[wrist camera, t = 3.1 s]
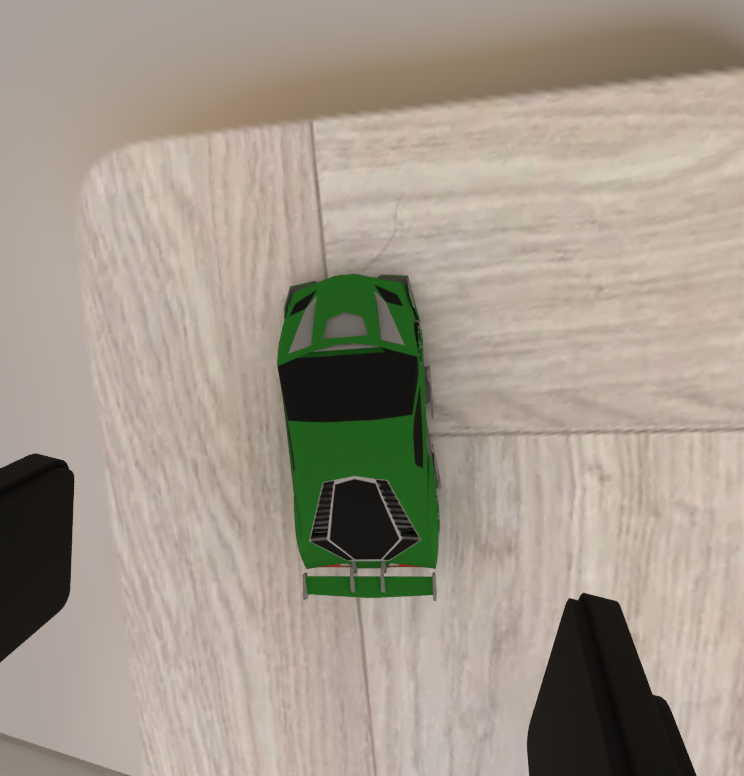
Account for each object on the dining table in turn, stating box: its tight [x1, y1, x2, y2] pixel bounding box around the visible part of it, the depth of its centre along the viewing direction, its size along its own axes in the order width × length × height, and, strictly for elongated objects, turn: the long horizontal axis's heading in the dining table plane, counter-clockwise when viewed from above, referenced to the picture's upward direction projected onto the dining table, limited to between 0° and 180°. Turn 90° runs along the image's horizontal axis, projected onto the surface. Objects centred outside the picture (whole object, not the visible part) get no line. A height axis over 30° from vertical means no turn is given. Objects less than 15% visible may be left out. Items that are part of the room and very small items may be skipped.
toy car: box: [277, 274, 441, 601], centre depth 18 cm, size 10×5×2 cm, turn 6°
